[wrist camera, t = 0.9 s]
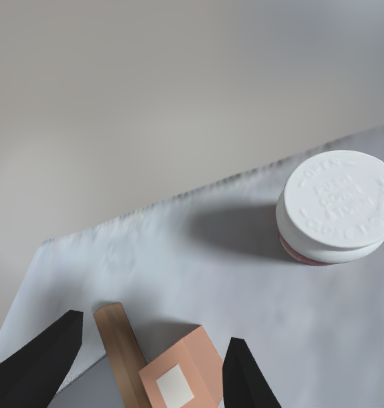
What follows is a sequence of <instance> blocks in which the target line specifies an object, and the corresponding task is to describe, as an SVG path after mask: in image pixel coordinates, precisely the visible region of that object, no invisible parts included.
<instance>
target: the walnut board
mask: <svg viewBox="0 0 384 408" xmlns="http://www.w3.org/2000/svg"><path fill="white" fill-rule="evenodd" d="M93 315H94V318H95V321H96V324H97V327H98V330H99V333H100V336H101V338H102V341H103V344H104V347H105V350H106V353H107V356H108V359H109V362H110V365H111V368H112V371H113V374H114V377H115V380H116V383H117V386H118V388H119V391H120V394H121V397H122V400H123V403H124V406H125V408H152V405H151V403H150V400H149V398H148V395H147V392H146V390H145V387H144V385H143V382H142V380H141V377H140V375H139V371H140V370H141V369H143V368H144V367H145V366H147V365H146V362H145V360H144V357H143V355H142V353H141V350H140V348H139V345H138V343H137V341H136V338H135V336H134V333H133V331H132V328H131V326H130V324H129V321H128V319H127V316H126V314H125V312H124V309H123V307H122V304H121V303H117V304H112V305H107V306H102V307H101V308H100V309H99V310H98V311H96V312H95V313H94V314H93Z"/></svg>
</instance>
